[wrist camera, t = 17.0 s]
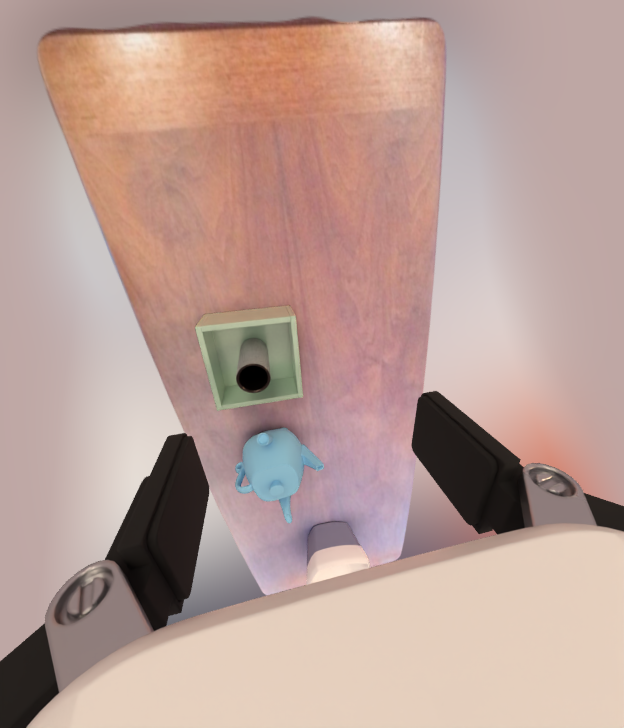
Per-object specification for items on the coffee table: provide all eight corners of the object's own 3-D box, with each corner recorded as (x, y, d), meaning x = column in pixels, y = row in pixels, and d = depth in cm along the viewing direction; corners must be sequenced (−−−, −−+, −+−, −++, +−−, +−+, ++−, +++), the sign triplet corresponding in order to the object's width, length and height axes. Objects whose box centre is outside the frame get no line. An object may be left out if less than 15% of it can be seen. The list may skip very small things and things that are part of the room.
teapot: (321, 435, 56) (336, 478, 46) (284, 477, 59) (290, 526, 49) (261, 405, 50) (262, 446, 39) (223, 454, 53) (215, 504, 43)
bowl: (359, 513, 70) (376, 558, 60) (349, 548, 76) (362, 594, 66) (303, 519, 66) (311, 567, 56) (297, 555, 72) (303, 605, 62)
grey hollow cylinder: (242, 364, 44) (239, 396, 35) (237, 339, 42) (232, 366, 33) (269, 360, 45) (272, 390, 36) (265, 335, 43) (268, 361, 34)
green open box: (222, 388, 46) (217, 410, 40) (204, 313, 40) (194, 327, 34) (297, 377, 48) (303, 397, 42) (290, 304, 42) (295, 315, 36)
